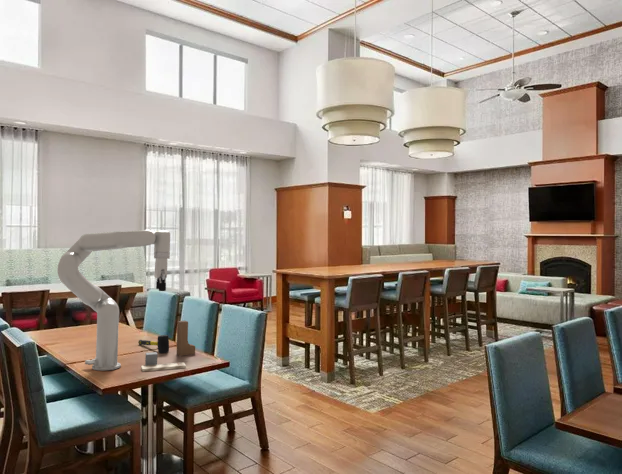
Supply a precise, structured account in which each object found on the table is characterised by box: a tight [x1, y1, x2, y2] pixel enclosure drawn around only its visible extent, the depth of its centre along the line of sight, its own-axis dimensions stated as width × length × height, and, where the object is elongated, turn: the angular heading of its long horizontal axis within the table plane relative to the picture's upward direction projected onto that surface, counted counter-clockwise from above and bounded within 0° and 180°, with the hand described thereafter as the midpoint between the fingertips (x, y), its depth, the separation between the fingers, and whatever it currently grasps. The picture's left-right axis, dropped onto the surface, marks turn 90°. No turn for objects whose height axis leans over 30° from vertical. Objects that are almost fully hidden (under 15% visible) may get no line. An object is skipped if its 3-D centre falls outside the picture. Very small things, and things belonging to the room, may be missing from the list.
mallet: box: [138, 334, 170, 354], centre depth 272 cm, size 29×6×10 cm, turn 47°
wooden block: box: [176, 320, 196, 357], centre depth 262 cm, size 9×4×18 cm, turn 127°
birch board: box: [140, 362, 187, 372], centre depth 233 cm, size 20×6×1 cm, turn 115°
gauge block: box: [144, 351, 158, 366], centre depth 237 cm, size 5×4×6 cm
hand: (160, 289), depth 241 cm, fingers open, 9 cm apart
